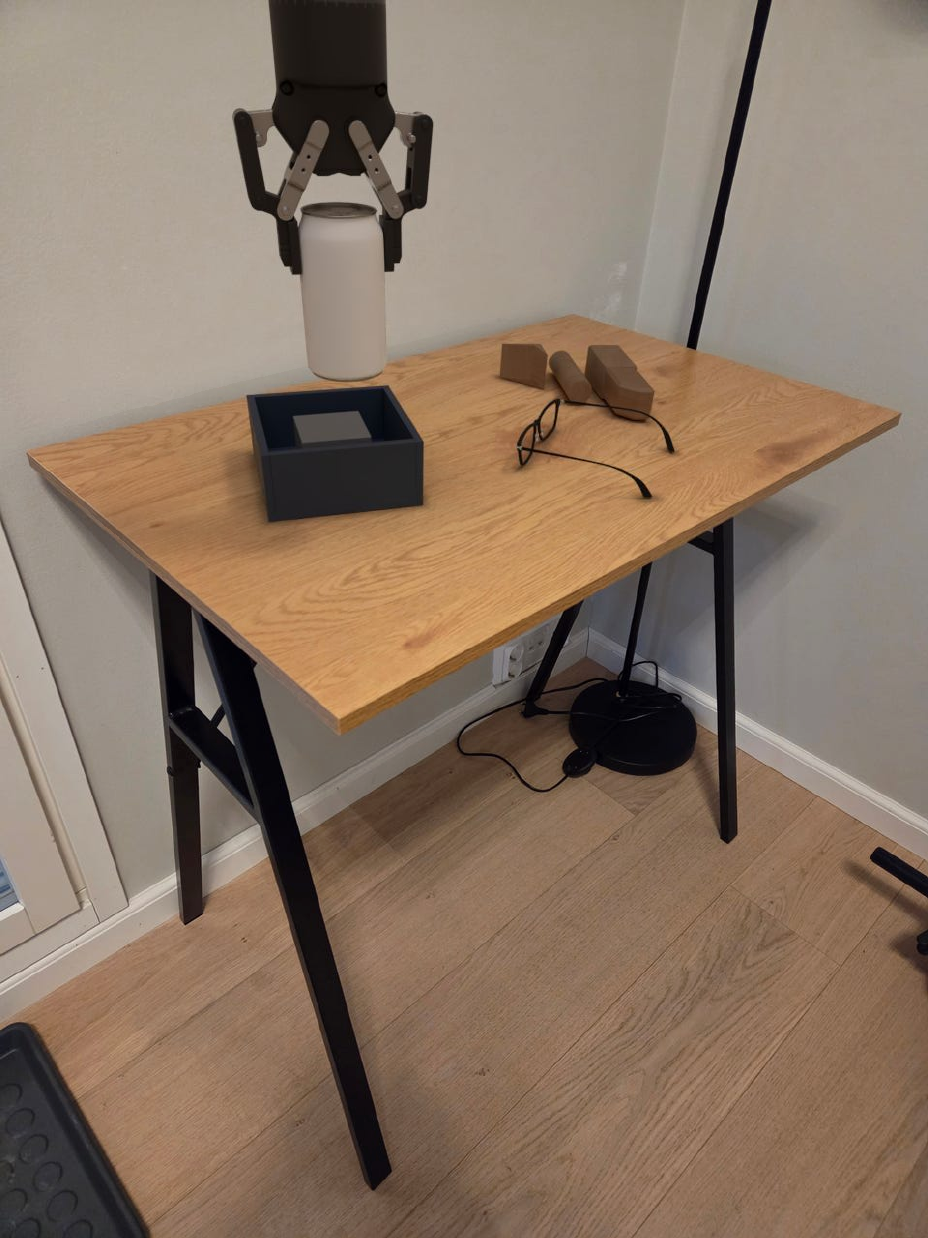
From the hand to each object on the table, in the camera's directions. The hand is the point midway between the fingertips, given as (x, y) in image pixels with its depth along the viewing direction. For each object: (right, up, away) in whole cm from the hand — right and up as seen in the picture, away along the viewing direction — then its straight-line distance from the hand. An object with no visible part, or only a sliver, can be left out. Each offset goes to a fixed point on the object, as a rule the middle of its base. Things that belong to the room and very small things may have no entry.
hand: (342, 270), depth 61 cm
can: (0, -6, +5) cm, 8 cm away
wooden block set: (+24, +3, +46) cm, 52 cm away
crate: (-5, -12, +24) cm, 27 cm away
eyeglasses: (+25, -9, +31) cm, 40 cm away
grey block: (-5, -11, +24) cm, 26 cm away
